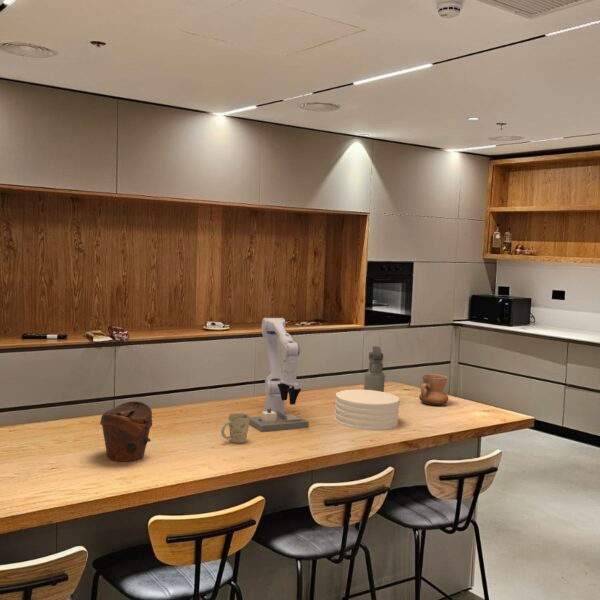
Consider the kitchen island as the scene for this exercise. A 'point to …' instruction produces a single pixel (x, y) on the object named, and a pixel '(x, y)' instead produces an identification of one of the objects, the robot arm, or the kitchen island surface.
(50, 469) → the kitchen island surface
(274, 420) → the plug
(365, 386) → the grey stone figurine
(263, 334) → the robot arm
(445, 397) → the ceramic jug
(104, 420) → the brown rounded container
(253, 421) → the socket
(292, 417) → the block
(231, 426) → the mug
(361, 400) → the plate stack
